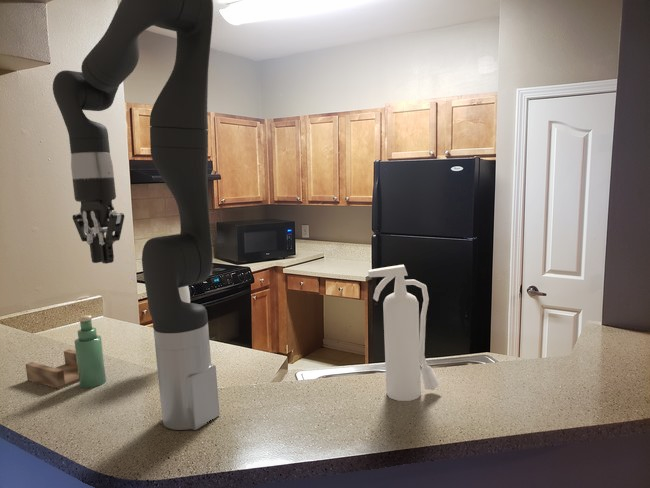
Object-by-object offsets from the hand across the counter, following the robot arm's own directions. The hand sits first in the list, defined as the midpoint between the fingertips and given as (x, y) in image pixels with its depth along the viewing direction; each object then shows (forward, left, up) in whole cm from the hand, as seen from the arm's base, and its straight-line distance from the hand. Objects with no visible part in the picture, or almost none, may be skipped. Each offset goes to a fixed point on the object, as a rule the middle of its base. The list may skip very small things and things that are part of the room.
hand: (102, 262), depth 100 cm
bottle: (+8, 0, -27) cm, 28 cm away
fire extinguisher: (-56, -22, -27) cm, 66 cm away
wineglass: (0, -17, -27) cm, 32 cm away
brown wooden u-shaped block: (+18, 0, -27) cm, 33 cm away
